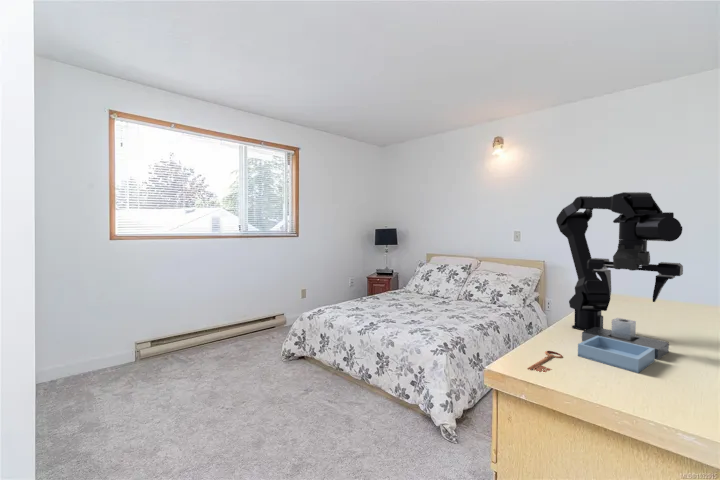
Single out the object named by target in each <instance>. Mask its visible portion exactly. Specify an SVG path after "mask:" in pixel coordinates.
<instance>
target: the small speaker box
mask: <svg viewBox="0 0 720 480" xmlns="http://www.w3.org/2000/svg"><path fill="white" fill-rule="evenodd" d="M636 322H637V321H636V320H631V319H626V318H621V317H615V318H613V319H611V330H612V334H611V337H613V338H618V339H622V340H627V341H631V342H633V341H635V335H636V329H637V327H636V325H637V324H636ZM636 336H637V335H636Z"/></svg>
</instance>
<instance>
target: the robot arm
mask: <svg viewBox="0 0 720 480" xmlns="http://www.w3.org/2000/svg"><path fill="white" fill-rule="evenodd" d="M580 210H584V211H580ZM594 210H609V211H611V212H612V213H616V214H619V215H618V216H617V217H616V218H615V219H613V221H612V223H614V224H619V225H618V244H617V250H616V252H615V253H614V254H613V255H612V261H610V258H603V257H602V258H599V257H593V258H592V256H591V251H590V249H589V245H588V242H587V237H586V232H587V231H588V229H589V221H590V220H591V219H592V218H593V211H594ZM674 215H675V213H674V212H671V211H669V212H667V211H666V212H665V211H664V212H663V210H662V209H661V208H660V206H659V205H658V203H657V202H656V200H655V198H654V197H653V195H652V193H650V192H645V191H644V192H643V191H642V192H639V191H638V192H636V191H634V192H630V191H629V192H628V191H626V192H620V193H615V194H612V196H593V195H591V196H588V195H586V196H583V195H582V196H578V197H576V198H574V200H573V202H571V203H570V204H567V205H566V206H565V207H563V208H562V209H561V211H560V212H559V214H558V215H557V217H556V224H557V227H558V229H559V232H560V233H561V234H562V235H563V236H564V237H566V238H567V242H568V245H569V249H570V254H571V257H572V260H573V264H574V268H575V271H576V272H575V273H576V276H577V282H576V284H575V286H574V292H575V293H574V294H573V296H572V297H571V298H570V299H568V300H569V301H568V304H569V308H571V309H573V310H574V325H571V328H572V329H577V330H582V331H586V330H589V329H591V328H594V327H598V328H603V329H604V315H602V311H603V312H606V311H607V310H608V308H609V305H610V301H611V297H612V296H611V295H612V274H611V272H612V271H611V269H613V270H614V269H615V270H629V271H642V272H643V271H645V272H657V273H658V274H657V275H655V279H654V288H653V293H652V303H655V302H656V301H657V300H658V297H659V296H660V293H661V292H662V289H663V288H664V286H665V284H666V283H667V282H668V280H673V279H674V278H676V277H682V276H683V274H684V265H683V264H681V262H669V261H668V262H666V261H665V262H664V261H661V262H658V264H655V263H654V264H653V263H652V264H651V255H650V254H651V253H650V251H649V250H648V242H649V241H652V242H674V241H676V240H677V239H679V238H680V237H681V236H682V233H683V226H682V225H681V222H680V221H679V219H677V218H675V217H674ZM598 276H599V277H598Z"/></svg>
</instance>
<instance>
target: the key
mask: <svg viewBox="0 0 720 480" xmlns="http://www.w3.org/2000/svg"><path fill="white" fill-rule="evenodd" d="M544 353H545V355H546V356H545V357H544V358H542V359H540V360H539V361H537V362H535V363H534V364H532V365H530V366H529V367H527V368H526V369H527V370H529V369H530V371H535V370H536V371H535V372H538V371H539V372H538V373H541V372H542V371H543V372H545V373H547V372H549V371H552V370H553V369H552V368H549V367H546V366H544V365H543V364H544V363H547V362H548V361H550V360H551V359H552V358H554V359H555V358H556V359H563V358H564V357H563V356H564V355H562V354H561V353H558V352H557V351H552V350H546V351H545V352H544ZM557 355H558V356H557ZM535 368H536V369H535ZM532 369H534V370H532ZM542 369H543V370H542Z"/></svg>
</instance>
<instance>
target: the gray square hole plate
mask: <svg viewBox="0 0 720 480" xmlns="http://www.w3.org/2000/svg"><path fill="white" fill-rule="evenodd" d="M611 334H612V329H607V328H604V327H603V328H598V327H594V328H591V329H589V330H583V331H582V333H581V342H584V341H586V340H588V339H590V338H593V337H595V336H602V337H606V338H610V339H615V340H619V341H624V342H628V343H632V344H637V345H641V346H646V347H650V348H654V349H655V360H657V361H658V360H659V359H661V358H663V357H664V356H666V354H668V353H669V348H670V347H669V346H670V345H669V341H664V340H660V339H655V338H651V337H646V336H642V335H641V336H640V335H635V341H633V342H631V341H627V340H622V339H618V338H613V337H611Z"/></svg>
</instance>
